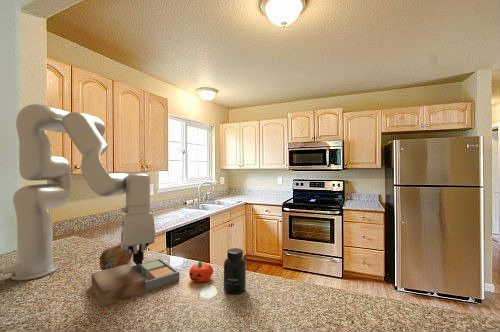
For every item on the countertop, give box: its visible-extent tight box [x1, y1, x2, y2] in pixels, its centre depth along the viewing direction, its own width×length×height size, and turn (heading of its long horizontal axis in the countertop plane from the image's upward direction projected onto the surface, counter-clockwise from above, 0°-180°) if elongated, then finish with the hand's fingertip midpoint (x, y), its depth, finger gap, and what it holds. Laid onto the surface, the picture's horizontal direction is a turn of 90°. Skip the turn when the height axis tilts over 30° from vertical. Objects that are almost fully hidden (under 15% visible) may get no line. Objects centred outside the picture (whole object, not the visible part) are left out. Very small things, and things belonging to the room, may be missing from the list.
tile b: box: [141, 260, 164, 277], centre depth 86 cm, size 6×6×2 cm
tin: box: [99, 241, 133, 271], centre depth 92 cm, size 15×3×8 cm, turn 169°
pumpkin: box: [188, 260, 214, 283], centre depth 81 cm, size 7×8×6 cm
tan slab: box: [91, 263, 146, 308], centre depth 75 cm, size 11×16×4 cm
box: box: [131, 258, 180, 293], centre depth 82 cm, size 11×16×3 cm
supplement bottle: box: [223, 247, 247, 295], centre depth 74 cm, size 7×7×12 cm
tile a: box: [149, 267, 174, 280], centre depth 80 cm, size 6×6×2 cm
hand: (138, 263), depth 83 cm, fingers closed
